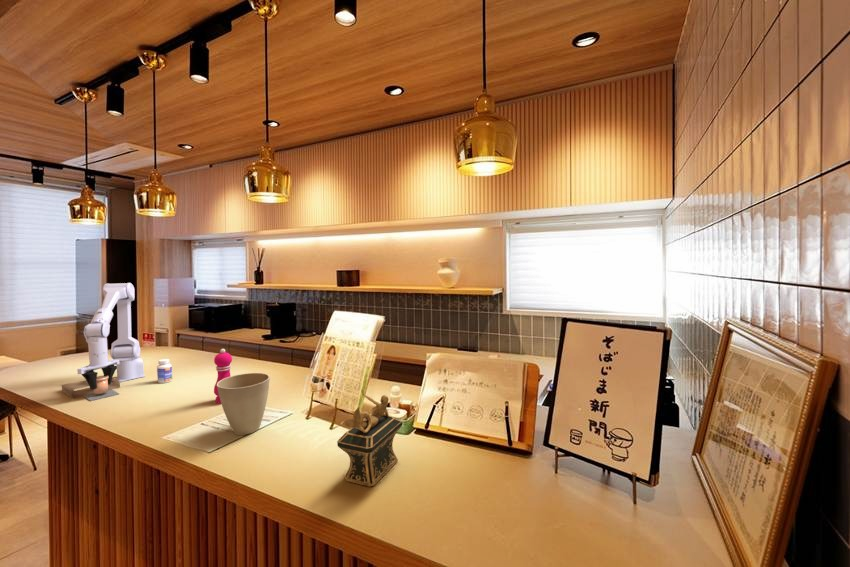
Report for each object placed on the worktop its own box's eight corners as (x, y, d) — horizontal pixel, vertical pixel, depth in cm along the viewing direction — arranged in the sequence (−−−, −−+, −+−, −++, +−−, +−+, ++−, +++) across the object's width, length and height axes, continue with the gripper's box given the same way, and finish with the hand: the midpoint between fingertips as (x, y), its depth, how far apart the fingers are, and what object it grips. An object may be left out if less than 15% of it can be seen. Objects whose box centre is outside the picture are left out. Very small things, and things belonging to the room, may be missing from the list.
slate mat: (111, 390, 160) (111, 389, 160) (119, 394, 155) (119, 393, 155) (83, 396, 153) (83, 395, 153) (90, 401, 147) (90, 400, 147)
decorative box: (372, 450, 105) (371, 380, 104) (404, 457, 102) (402, 384, 100) (326, 491, 87) (324, 406, 86) (363, 501, 83) (360, 413, 82)
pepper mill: (240, 398, 147) (237, 347, 146) (223, 405, 141) (220, 351, 139) (227, 396, 150) (224, 345, 149) (210, 402, 144) (207, 350, 142)
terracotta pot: (102, 389, 157) (101, 375, 156) (112, 390, 155) (111, 375, 155) (89, 393, 152) (88, 378, 151) (99, 394, 150) (98, 379, 150)
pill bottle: (167, 383, 168) (165, 361, 167) (154, 383, 168) (153, 361, 167) (175, 379, 173) (174, 358, 173) (163, 379, 173) (162, 358, 173)
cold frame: (108, 381, 172) (107, 375, 172) (120, 387, 163) (119, 381, 163) (62, 391, 160) (61, 385, 160) (71, 398, 151) (71, 392, 151)
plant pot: (235, 420, 128) (233, 372, 127) (279, 419, 127) (277, 372, 126) (208, 441, 113) (205, 388, 112) (258, 441, 112) (256, 387, 111)
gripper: (109, 348, 160) (111, 380, 161) (70, 357, 146) (72, 392, 147) (122, 349, 159) (124, 381, 160) (84, 358, 145) (87, 393, 146)
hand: (100, 386), depth 153 cm, fingers closed on terracotta pot, 5 cm apart
